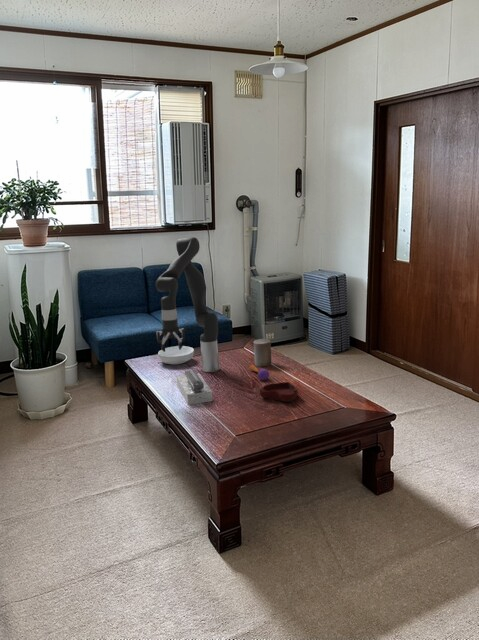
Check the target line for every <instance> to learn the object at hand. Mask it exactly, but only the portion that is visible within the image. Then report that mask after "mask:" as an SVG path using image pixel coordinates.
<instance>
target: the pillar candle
mask: <svg viewBox="0 0 479 640" xmlns="http://www.w3.org/2000/svg"><path fill="white" fill-rule="evenodd" d="M253 353H254V354H253V357H254V365H255V367H261V368H263V367H269V366H272V365H273V364H272V342H271V339H268V338H259V339H255V340H254V341H253Z"/></svg>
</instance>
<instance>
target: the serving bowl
mask: <svg viewBox="0 0 479 640" xmlns="http://www.w3.org/2000/svg"><path fill="white" fill-rule="evenodd" d="M194 352H195V349H194V348H193V347H190V346H185V345H182V348H181V350H179V345H176V346H170V347H169V346H168V347H165V352H164V351H163V350H162V349H161V350H159V351H158V353H157V355H158V357H159V359H160V361H161V362H163V363H165V364H168V365H181V364H184V363H187V362H189V361H190V360H191V359H192V358H193V356H194V354H195V353H194Z"/></svg>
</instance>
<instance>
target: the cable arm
mask: <svg viewBox="0 0 479 640" xmlns="http://www.w3.org/2000/svg"><path fill="white" fill-rule="evenodd" d="M184 375H185V376H186V377H187V379H188V381H189V382H190V384H191V385H192V387H193V388H194V389H203V388H204V383H203V382H202V380H201V379H200V377H199V376H198V374H197V372H196V370H195V369H194V370H192V368H189V369H188V370H187V371H184Z"/></svg>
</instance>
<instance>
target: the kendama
mask: <svg viewBox="0 0 479 640" xmlns="http://www.w3.org/2000/svg"><path fill="white" fill-rule="evenodd" d="M249 370H250V371H252V372H255V373H257V378H259V380H261V381H266V380H268V379H269V377H270V372H269V370H267V369H265V368H261V369H259V368H257V366H256V365H255V364H250V365H249Z"/></svg>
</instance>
